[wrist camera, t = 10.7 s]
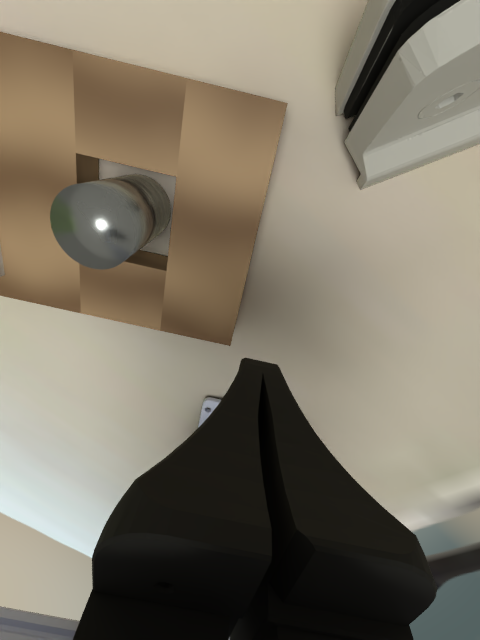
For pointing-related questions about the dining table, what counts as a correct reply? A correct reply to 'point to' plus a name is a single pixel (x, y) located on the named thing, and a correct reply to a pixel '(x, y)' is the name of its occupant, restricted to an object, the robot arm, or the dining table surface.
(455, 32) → the grey rounded piece
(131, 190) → the mottled grey cylinder
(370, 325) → the dining table surface
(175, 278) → the jig
